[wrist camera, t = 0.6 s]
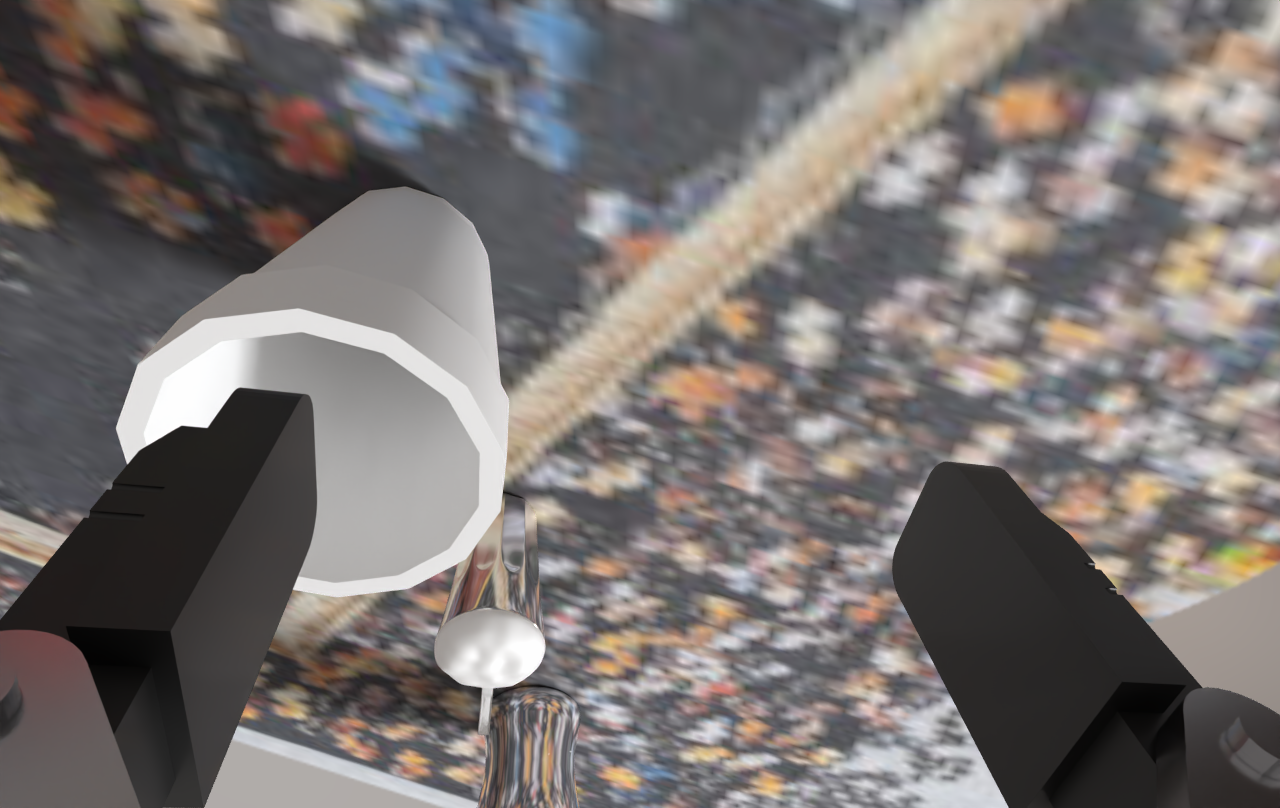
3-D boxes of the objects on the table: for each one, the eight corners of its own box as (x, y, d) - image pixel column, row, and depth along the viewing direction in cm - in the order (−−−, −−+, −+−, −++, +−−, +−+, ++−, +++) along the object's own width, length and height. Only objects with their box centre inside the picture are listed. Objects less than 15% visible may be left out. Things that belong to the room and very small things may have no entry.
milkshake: (456, 557, 40) (427, 734, 31) (459, 479, 37) (427, 651, 28) (543, 562, 40) (537, 736, 32) (552, 485, 37) (548, 655, 29)
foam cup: (575, 264, 31) (577, 466, 20) (433, 401, 34) (369, 638, 23) (377, 88, 26) (246, 226, 16) (236, 264, 30) (48, 478, 19)
